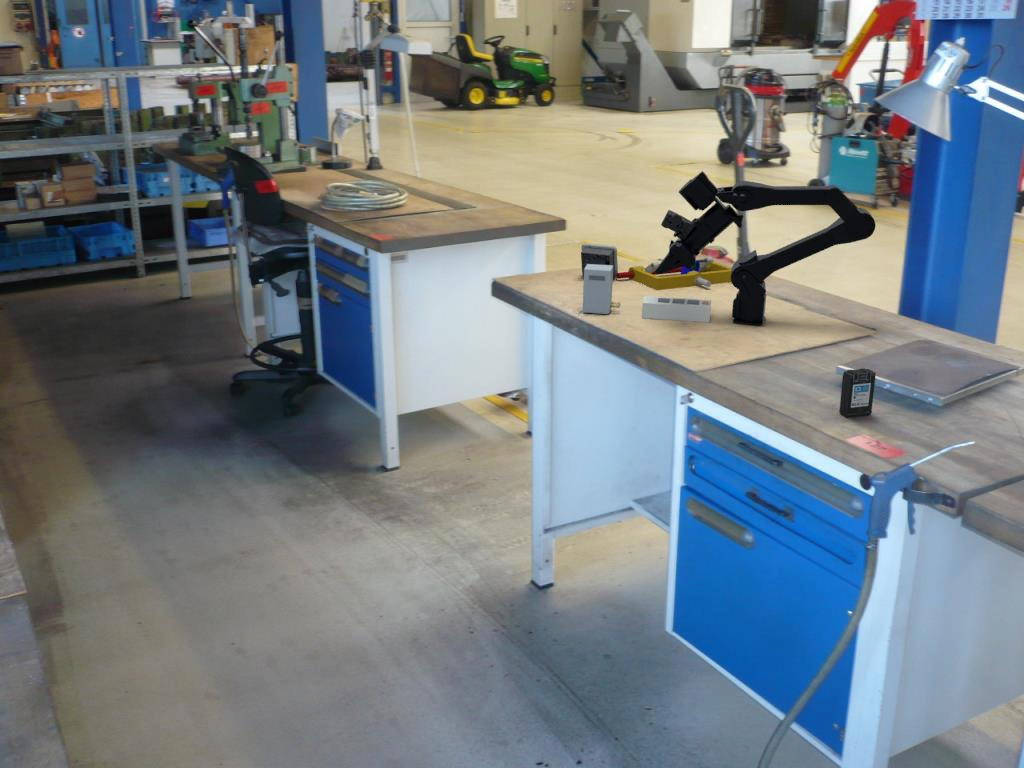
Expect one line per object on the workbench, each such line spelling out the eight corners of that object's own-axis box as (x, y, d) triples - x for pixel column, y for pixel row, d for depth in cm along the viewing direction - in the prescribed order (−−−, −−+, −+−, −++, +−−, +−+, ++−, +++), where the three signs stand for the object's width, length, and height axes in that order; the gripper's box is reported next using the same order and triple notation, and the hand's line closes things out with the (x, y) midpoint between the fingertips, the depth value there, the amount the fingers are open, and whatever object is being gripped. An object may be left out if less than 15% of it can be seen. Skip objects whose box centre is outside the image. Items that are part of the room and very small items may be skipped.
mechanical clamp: (614, 257, 273) (711, 248, 285) (613, 281, 275) (710, 271, 287) (653, 272, 257) (754, 262, 269) (651, 297, 259) (752, 286, 271)
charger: (620, 308, 247) (622, 266, 243) (618, 314, 241) (620, 271, 238) (585, 306, 248) (587, 264, 245) (582, 312, 243) (583, 269, 240)
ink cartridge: (845, 418, 182) (850, 374, 180) (838, 413, 184) (843, 370, 182) (871, 415, 183) (876, 371, 181) (864, 411, 186) (868, 367, 183)
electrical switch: (618, 279, 275) (619, 244, 271) (612, 285, 271) (612, 250, 267) (584, 275, 279) (584, 241, 275) (577, 281, 274) (577, 246, 270)
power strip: (711, 303, 253) (712, 288, 252) (709, 322, 237) (710, 306, 236) (647, 299, 256) (648, 284, 254) (641, 318, 240) (642, 301, 239)
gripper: (686, 192, 242) (635, 238, 247) (682, 206, 224) (628, 255, 230) (719, 228, 243) (668, 273, 248) (718, 244, 225) (662, 292, 231)
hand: (656, 272), depth 239 cm, fingers closed
